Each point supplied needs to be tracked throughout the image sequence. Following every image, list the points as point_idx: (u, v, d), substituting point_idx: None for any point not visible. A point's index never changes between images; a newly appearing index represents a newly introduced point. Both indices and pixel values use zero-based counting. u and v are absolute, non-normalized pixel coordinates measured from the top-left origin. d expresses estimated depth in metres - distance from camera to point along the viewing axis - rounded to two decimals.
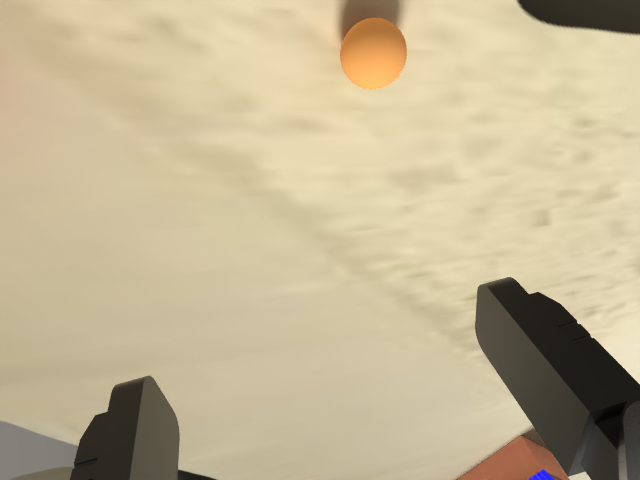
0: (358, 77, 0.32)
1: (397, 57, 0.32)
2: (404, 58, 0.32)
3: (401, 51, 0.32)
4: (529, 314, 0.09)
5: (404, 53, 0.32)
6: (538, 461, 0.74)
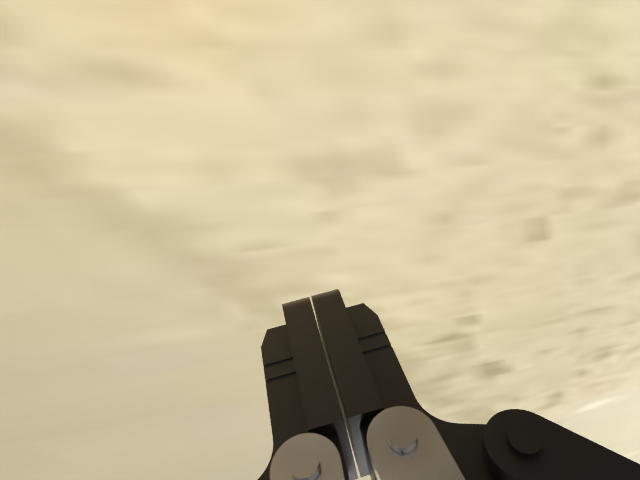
0: None
1: None
2: None
3: None
4: (336, 325, 0.10)
5: None
6: None
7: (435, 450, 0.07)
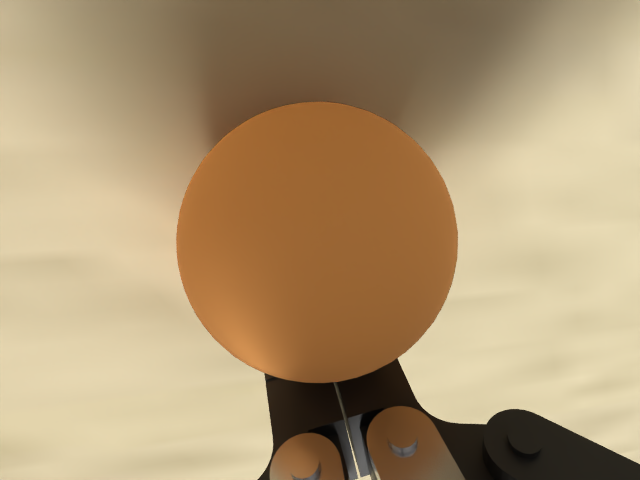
0: (203, 246, 0.06)
1: (367, 121, 0.07)
2: (423, 157, 0.07)
3: (386, 121, 0.07)
4: None
5: (414, 142, 0.07)
6: None
7: (435, 450, 0.07)
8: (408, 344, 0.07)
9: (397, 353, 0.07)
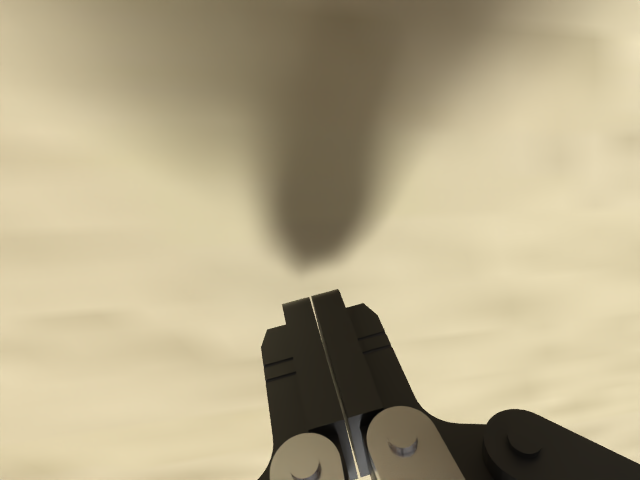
0: None
1: None
2: None
3: None
4: (336, 325, 0.10)
5: None
6: None
7: (435, 450, 0.07)
8: None
9: None
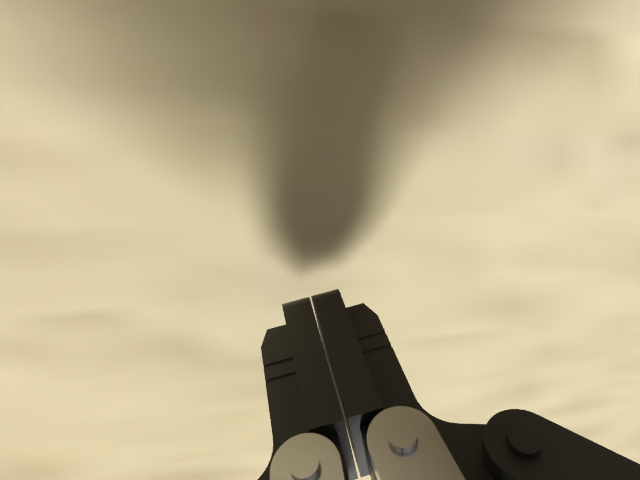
0: None
1: None
2: None
3: None
4: (336, 325, 0.10)
5: None
6: None
7: (435, 450, 0.07)
8: None
9: None
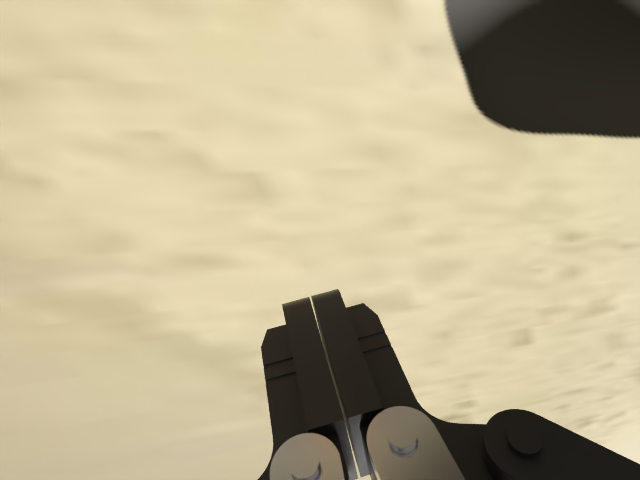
0: None
1: None
2: None
3: None
4: (336, 325, 0.10)
5: None
6: None
7: (435, 450, 0.07)
8: None
9: None
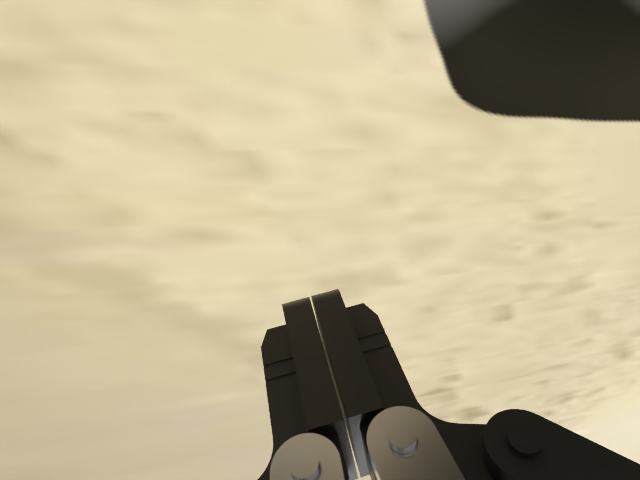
0: None
1: None
2: None
3: None
4: (336, 325, 0.10)
5: None
6: None
7: (435, 450, 0.07)
8: None
9: None
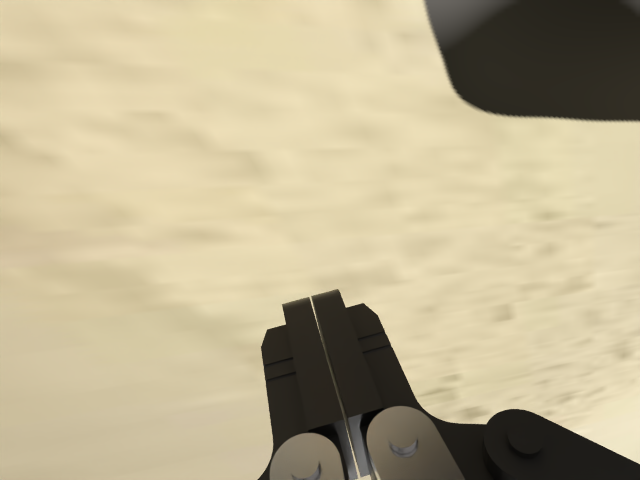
0: None
1: None
2: None
3: None
4: (337, 325, 0.10)
5: None
6: None
7: (435, 450, 0.07)
8: None
9: None
